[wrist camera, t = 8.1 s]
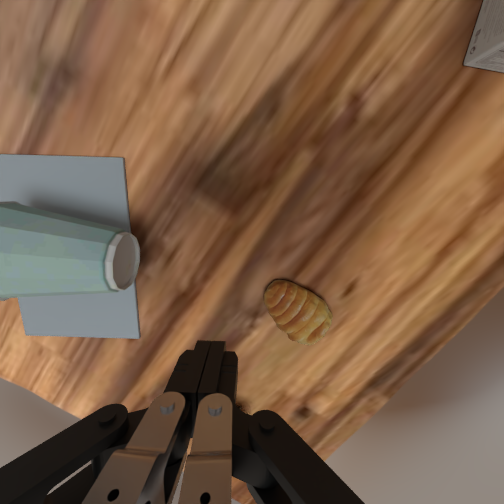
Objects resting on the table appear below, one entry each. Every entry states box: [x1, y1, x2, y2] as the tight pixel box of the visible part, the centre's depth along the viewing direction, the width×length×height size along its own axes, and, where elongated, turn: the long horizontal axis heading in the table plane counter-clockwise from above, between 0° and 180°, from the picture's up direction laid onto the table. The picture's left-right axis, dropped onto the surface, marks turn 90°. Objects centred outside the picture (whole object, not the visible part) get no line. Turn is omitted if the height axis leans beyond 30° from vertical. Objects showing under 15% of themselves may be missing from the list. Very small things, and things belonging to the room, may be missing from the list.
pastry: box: [264, 280, 333, 345], centre depth 33 cm, size 9×7×4 cm
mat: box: [0, 154, 140, 339], centre depth 32 cm, size 24×16×1 cm, turn 178°
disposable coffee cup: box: [0, 201, 140, 301], centre depth 27 cm, size 11×11×15 cm
